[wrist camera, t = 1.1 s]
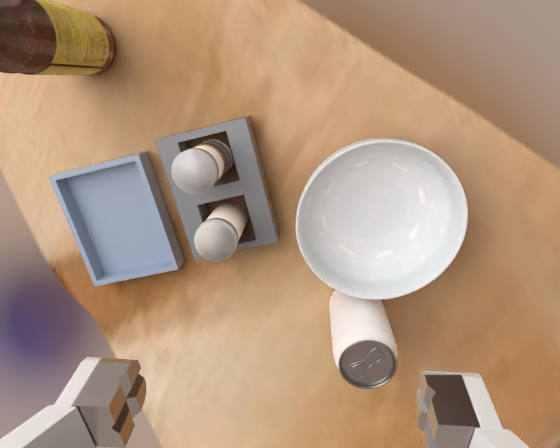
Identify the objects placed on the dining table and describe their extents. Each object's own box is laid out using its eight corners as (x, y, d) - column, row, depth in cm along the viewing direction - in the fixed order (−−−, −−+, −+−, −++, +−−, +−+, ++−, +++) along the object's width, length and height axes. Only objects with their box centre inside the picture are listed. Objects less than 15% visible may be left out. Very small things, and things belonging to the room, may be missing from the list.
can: (318, 303, 51) (320, 365, 39) (355, 269, 49) (368, 324, 38) (354, 334, 52) (366, 403, 40) (392, 303, 50) (416, 365, 39)
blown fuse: (237, 171, 46) (221, 189, 38) (203, 179, 47) (179, 198, 38) (227, 134, 45) (208, 145, 36) (192, 143, 45) (165, 155, 37)
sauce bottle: (87, -2, 42) (-97, -77, 23) (129, 50, 43) (-13, 18, 24) (47, 42, 43) (-157, 4, 24) (88, 90, 44) (-74, 90, 26)
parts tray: (184, 261, 50) (178, 269, 48) (104, 277, 52) (94, 286, 49) (147, 150, 46) (138, 154, 44) (61, 172, 48) (48, 176, 45)
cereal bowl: (381, 98, 43) (395, 99, 36) (476, 209, 46) (505, 229, 39) (267, 203, 47) (260, 221, 40) (360, 298, 50) (368, 330, 43)
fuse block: (279, 233, 48) (273, 264, 40) (201, 249, 49) (178, 282, 41) (249, 115, 44) (234, 121, 35) (164, 137, 45) (130, 148, 37)
